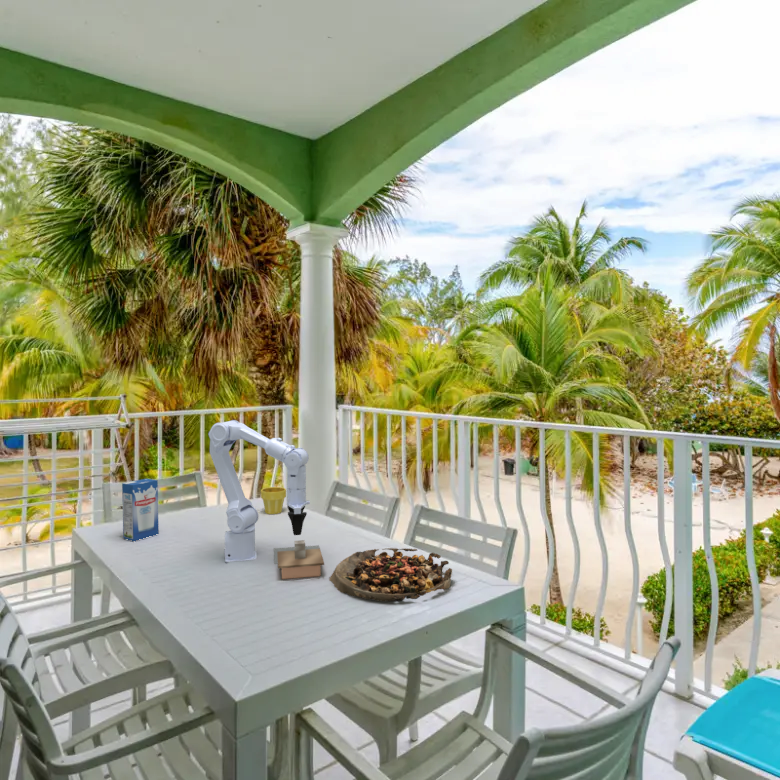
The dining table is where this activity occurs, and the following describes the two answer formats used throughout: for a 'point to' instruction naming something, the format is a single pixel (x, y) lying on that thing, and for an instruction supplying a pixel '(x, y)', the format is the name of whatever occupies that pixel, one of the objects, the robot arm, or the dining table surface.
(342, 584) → the food dish
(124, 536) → the milk carton
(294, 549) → the mat
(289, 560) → the lid
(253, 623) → the dining table surface
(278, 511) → the plant pot
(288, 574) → the pink shallow tray
